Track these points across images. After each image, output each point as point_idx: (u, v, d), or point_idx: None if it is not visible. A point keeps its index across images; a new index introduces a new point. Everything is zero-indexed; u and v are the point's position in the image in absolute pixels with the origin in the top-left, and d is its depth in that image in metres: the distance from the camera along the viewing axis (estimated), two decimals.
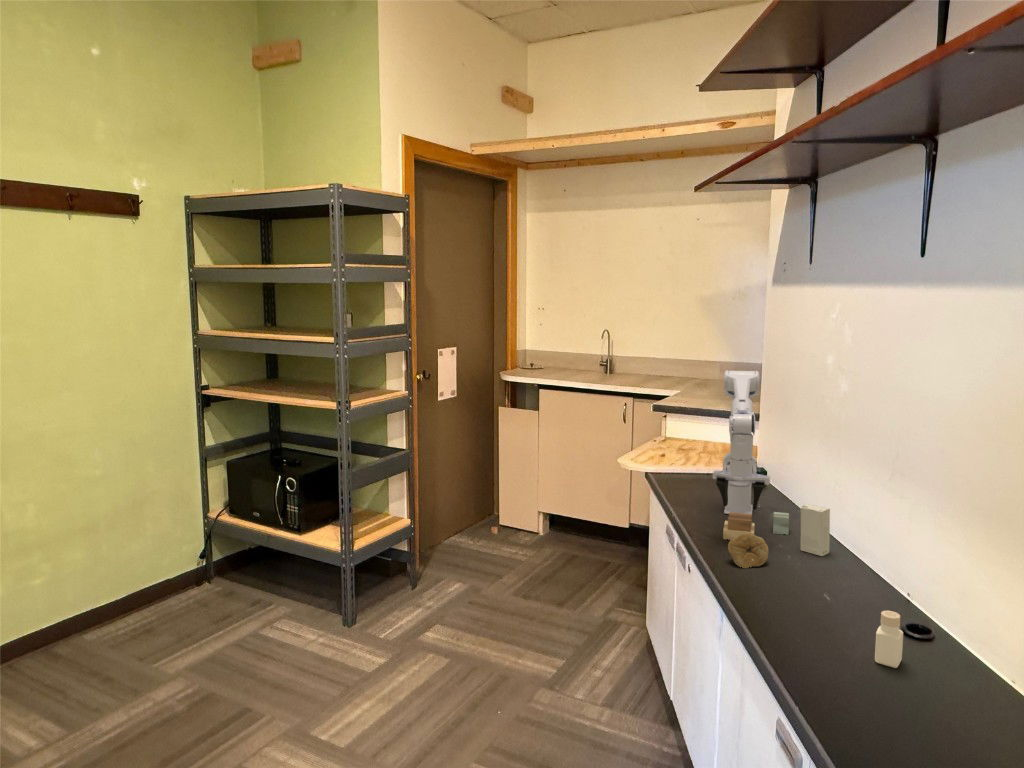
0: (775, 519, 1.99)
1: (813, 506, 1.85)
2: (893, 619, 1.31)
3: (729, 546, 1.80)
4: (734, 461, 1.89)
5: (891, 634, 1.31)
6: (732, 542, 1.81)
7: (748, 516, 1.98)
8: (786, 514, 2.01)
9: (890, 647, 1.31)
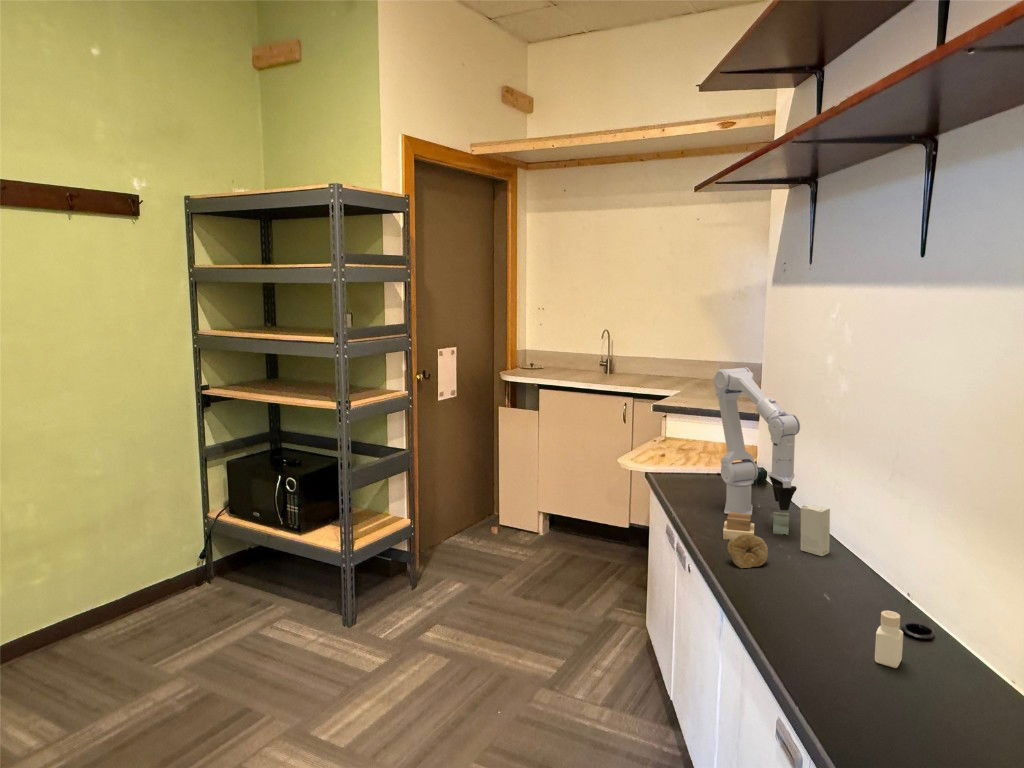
0: (775, 519, 1.99)
1: (813, 506, 1.85)
2: (893, 619, 1.31)
3: (728, 547, 1.80)
4: None
5: (891, 634, 1.31)
6: (732, 542, 1.81)
7: (748, 516, 1.98)
8: (786, 514, 2.01)
9: (890, 647, 1.31)
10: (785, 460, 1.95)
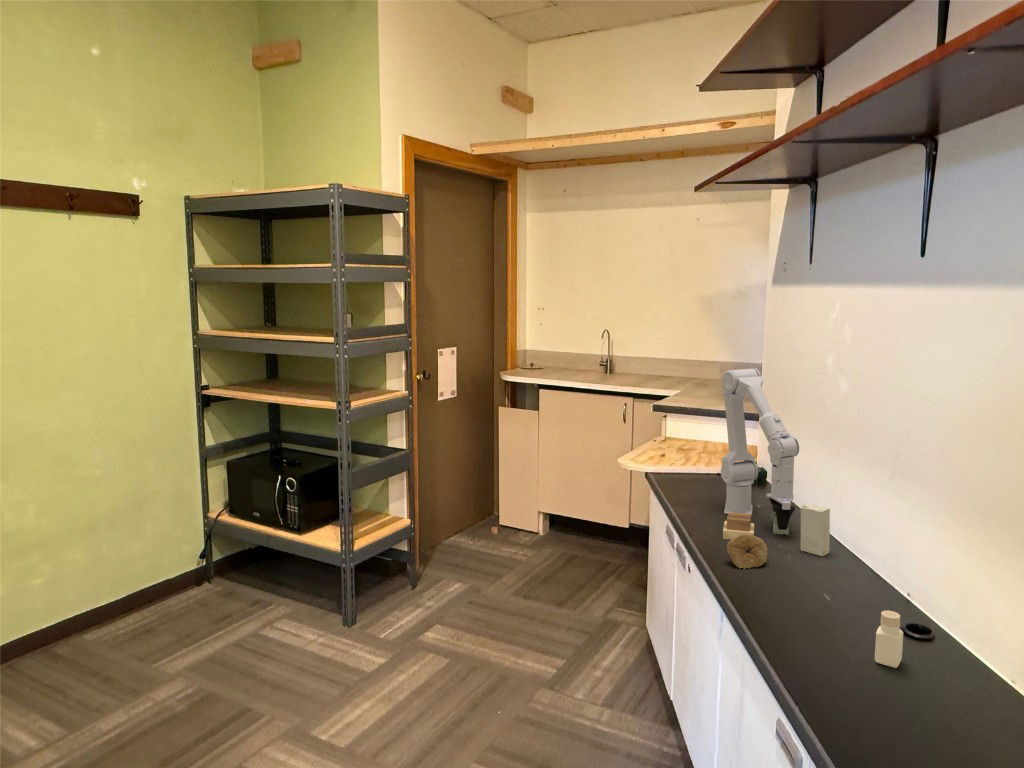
0: (775, 519, 1.99)
1: (813, 506, 1.85)
2: (893, 619, 1.31)
3: (727, 547, 1.80)
4: None
5: (891, 634, 1.31)
6: (731, 543, 1.81)
7: (747, 516, 1.98)
8: None
9: (890, 647, 1.31)
10: (784, 482, 1.96)
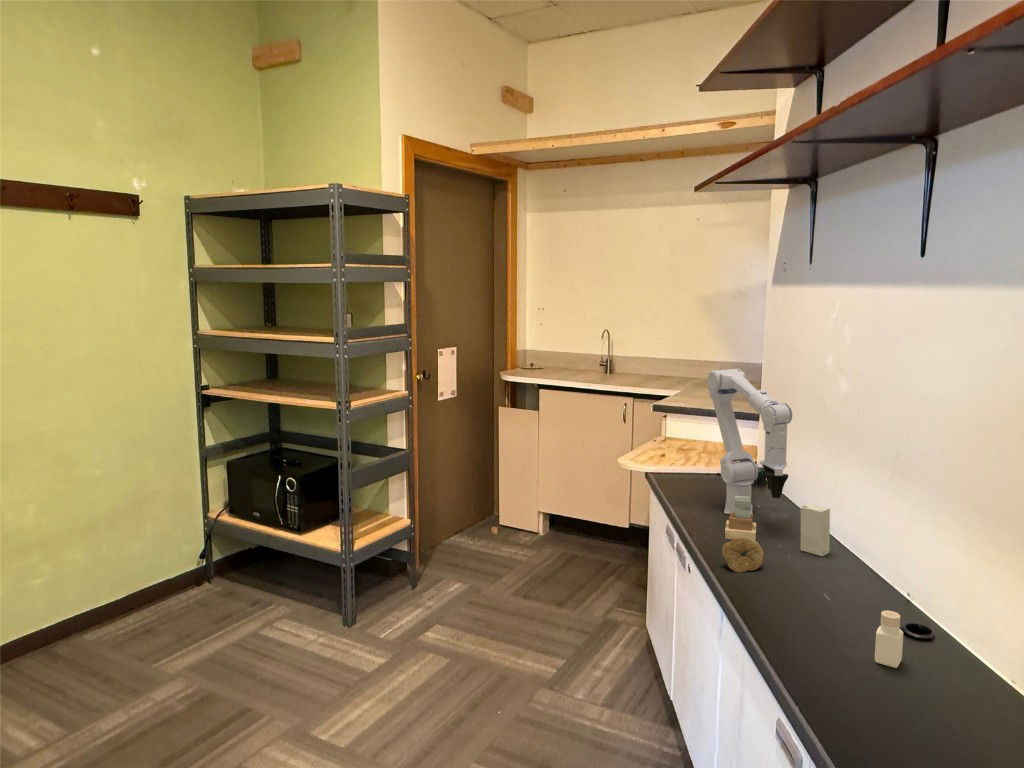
0: (737, 503, 1.97)
1: (813, 506, 1.85)
2: (893, 619, 1.31)
3: (723, 550, 1.78)
4: None
5: (891, 634, 1.31)
6: (726, 546, 1.79)
7: None
8: (747, 497, 1.99)
9: (890, 647, 1.31)
10: (777, 448, 1.97)
